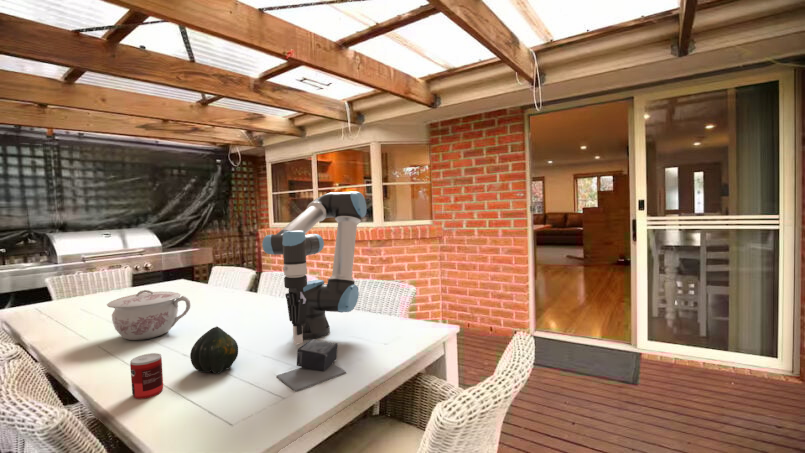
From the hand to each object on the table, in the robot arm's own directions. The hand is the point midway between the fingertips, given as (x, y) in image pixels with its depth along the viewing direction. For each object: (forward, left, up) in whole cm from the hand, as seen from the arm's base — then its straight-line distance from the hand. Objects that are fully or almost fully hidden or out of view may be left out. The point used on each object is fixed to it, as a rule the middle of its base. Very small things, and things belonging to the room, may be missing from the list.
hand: (298, 342), depth 129 cm
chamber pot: (-82, -34, -9) cm, 89 cm away
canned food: (-16, -42, -9) cm, 46 cm away
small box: (-1, +2, -4) cm, 5 cm away
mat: (+9, 0, -9) cm, 12 cm away
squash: (-20, -22, -9) cm, 31 cm away
